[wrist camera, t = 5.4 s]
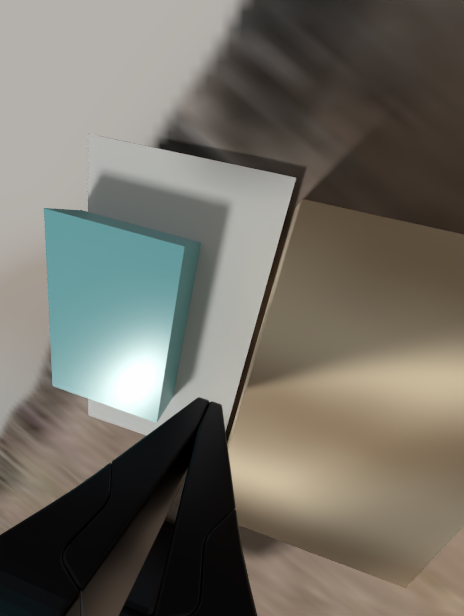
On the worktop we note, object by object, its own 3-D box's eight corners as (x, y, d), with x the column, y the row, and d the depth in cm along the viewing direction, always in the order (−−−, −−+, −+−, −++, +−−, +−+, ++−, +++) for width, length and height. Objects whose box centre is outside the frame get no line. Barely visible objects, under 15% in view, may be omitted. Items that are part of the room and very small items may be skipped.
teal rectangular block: (52, 385, 13) (81, 365, 15) (156, 422, 12) (173, 396, 14) (43, 208, 10) (82, 210, 12) (184, 246, 9) (201, 242, 11)
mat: (219, 453, 16) (217, 460, 15) (93, 409, 17) (88, 415, 16) (295, 179, 10) (296, 177, 9) (96, 137, 11) (88, 133, 10)
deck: (373, 493, 14) (405, 587, 11) (227, 443, 15) (209, 514, 12) (528, 259, 9) (691, 284, 6) (295, 207, 10) (302, 199, 7)
